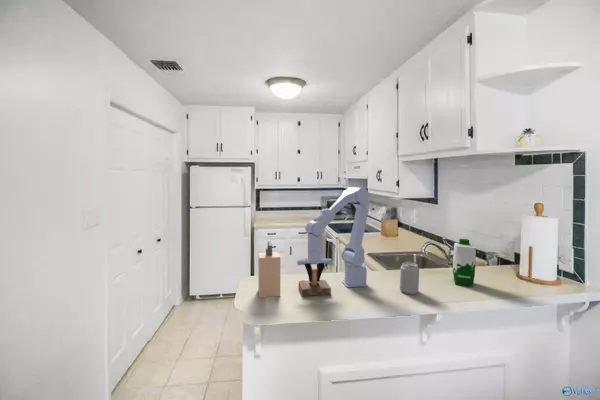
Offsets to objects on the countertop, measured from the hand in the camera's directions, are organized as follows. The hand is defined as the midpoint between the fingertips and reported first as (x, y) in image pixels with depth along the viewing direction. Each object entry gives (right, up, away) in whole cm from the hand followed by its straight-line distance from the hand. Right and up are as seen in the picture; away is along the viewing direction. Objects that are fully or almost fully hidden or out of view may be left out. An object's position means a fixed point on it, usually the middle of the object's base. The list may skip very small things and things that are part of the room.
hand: (314, 280), depth 127 cm
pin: (0, -3, 0) cm, 3 cm away
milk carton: (+69, -4, +11) cm, 70 cm away
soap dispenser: (-19, -5, -4) cm, 20 cm away
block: (0, -5, 0) cm, 4 cm away
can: (+40, -5, 0) cm, 41 cm away
